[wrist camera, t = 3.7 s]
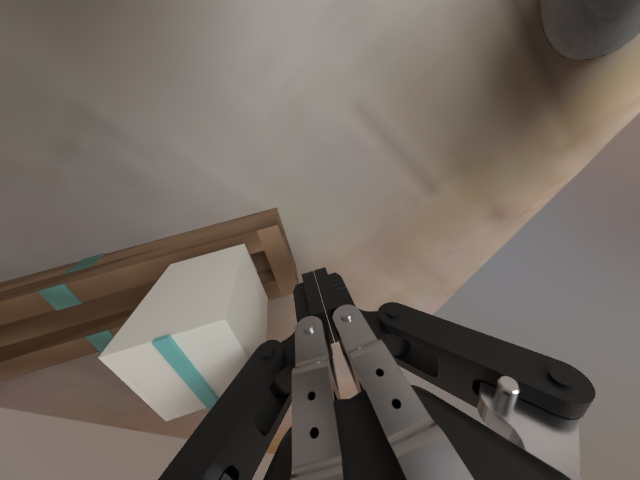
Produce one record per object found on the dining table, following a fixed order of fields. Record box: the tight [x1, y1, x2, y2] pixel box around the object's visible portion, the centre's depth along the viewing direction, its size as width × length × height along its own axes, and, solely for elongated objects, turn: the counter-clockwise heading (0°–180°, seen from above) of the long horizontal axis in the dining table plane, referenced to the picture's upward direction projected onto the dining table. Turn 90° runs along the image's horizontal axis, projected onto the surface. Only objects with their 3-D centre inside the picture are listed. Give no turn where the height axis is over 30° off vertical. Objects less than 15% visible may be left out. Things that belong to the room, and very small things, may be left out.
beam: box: [0, 208, 299, 381], centre depth 16 cm, size 6×30×8 cm, turn 103°
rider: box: [98, 244, 268, 421], centre depth 14 cm, size 5×5×9 cm
